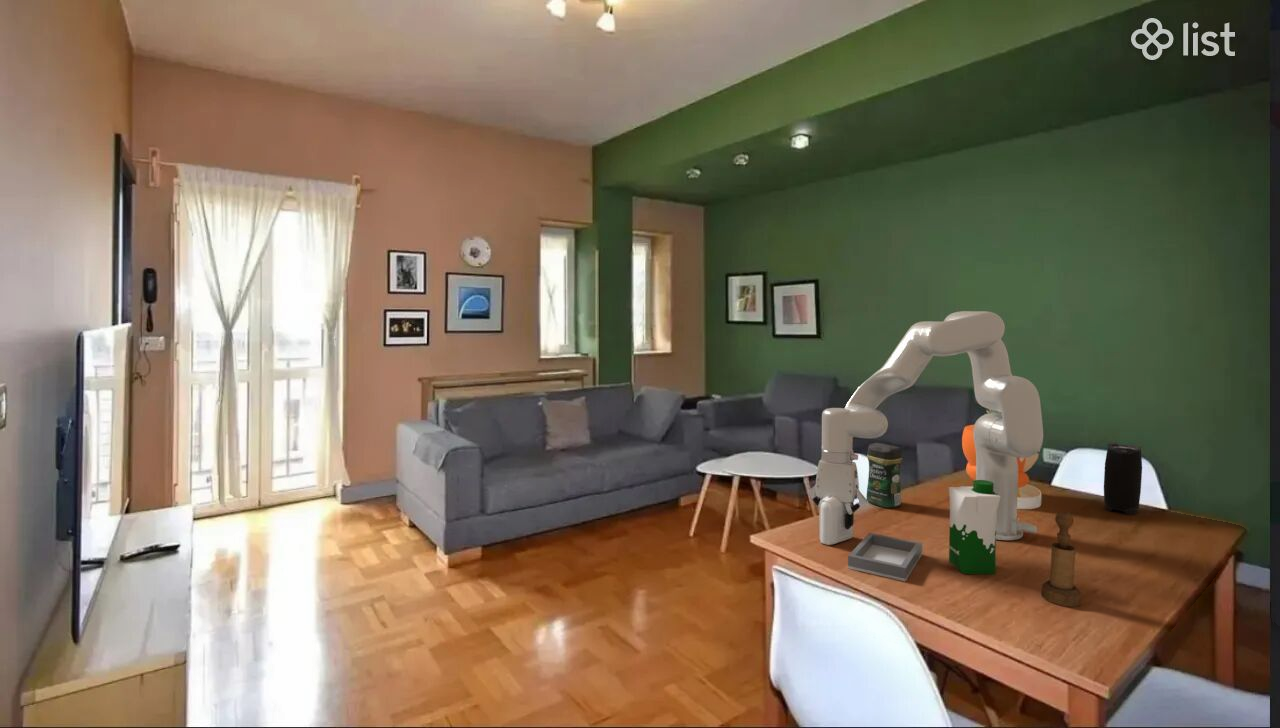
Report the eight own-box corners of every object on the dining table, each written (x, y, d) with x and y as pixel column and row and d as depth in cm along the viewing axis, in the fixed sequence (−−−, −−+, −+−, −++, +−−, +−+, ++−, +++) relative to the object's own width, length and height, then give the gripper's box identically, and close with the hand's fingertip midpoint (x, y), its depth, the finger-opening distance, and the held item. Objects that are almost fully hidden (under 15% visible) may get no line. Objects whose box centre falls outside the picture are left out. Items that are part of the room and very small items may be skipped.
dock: (921, 554, 146) (922, 542, 146) (905, 581, 132) (905, 568, 132) (868, 544, 153) (869, 532, 153) (847, 568, 139) (848, 555, 139)
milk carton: (1002, 576, 134) (1005, 487, 132) (960, 576, 134) (963, 488, 133) (981, 559, 143) (983, 476, 141) (942, 560, 143) (944, 477, 141)
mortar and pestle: (1082, 610, 118) (1086, 520, 117) (1042, 602, 122) (1045, 515, 120) (1079, 596, 124) (1082, 510, 122) (1041, 589, 127) (1044, 505, 126)
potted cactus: (1024, 489, 197) (1027, 382, 194) (1054, 511, 175) (1058, 391, 172) (952, 486, 202) (954, 382, 199) (972, 507, 180) (975, 391, 177)
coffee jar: (861, 502, 187) (862, 443, 185) (878, 497, 191) (879, 439, 189) (888, 510, 179) (889, 448, 177) (905, 505, 183) (906, 445, 181)
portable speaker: (1139, 509, 176) (1143, 444, 174) (1139, 517, 169) (1143, 450, 167) (1103, 503, 181) (1106, 441, 180) (1101, 511, 174) (1105, 446, 173)
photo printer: (841, 533, 161) (842, 487, 160) (855, 537, 158) (856, 491, 157) (816, 542, 155) (816, 495, 154) (830, 547, 152) (830, 499, 151)
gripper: (875, 457, 153) (874, 527, 154) (809, 449, 163) (809, 515, 164) (867, 464, 147) (866, 536, 148) (799, 455, 157) (799, 523, 158)
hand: (836, 524), depth 156 cm, fingers closed on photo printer, 5 cm apart
